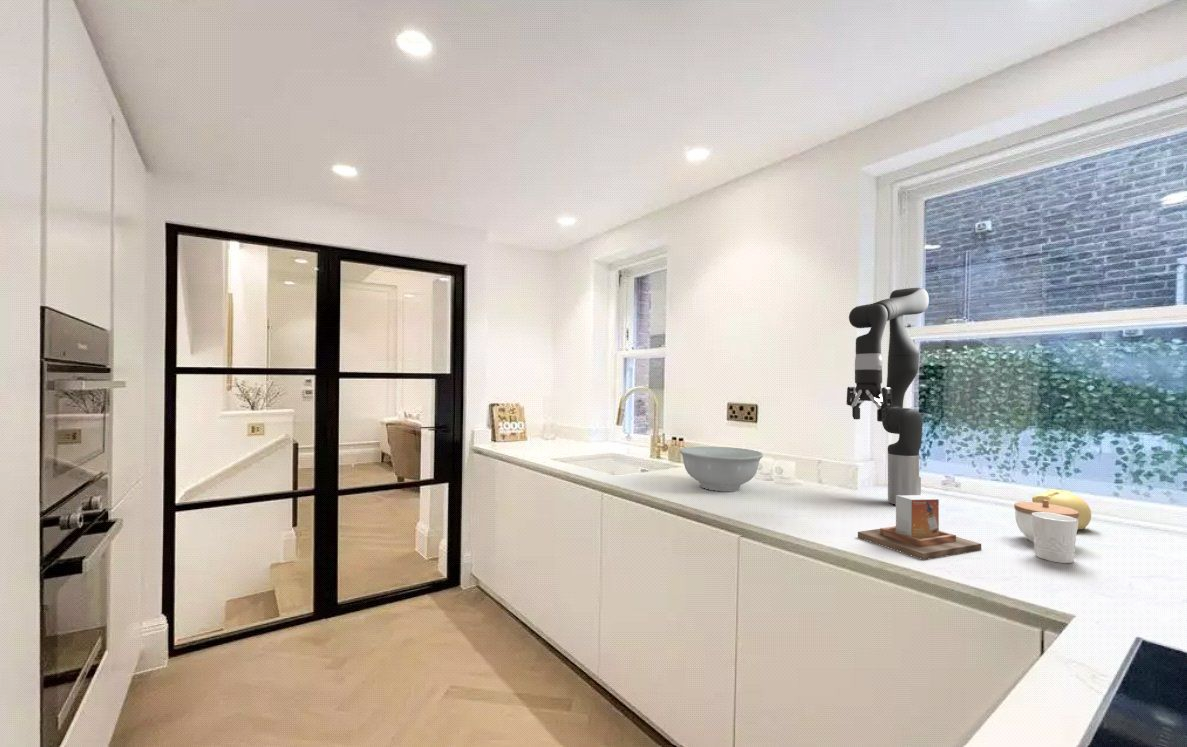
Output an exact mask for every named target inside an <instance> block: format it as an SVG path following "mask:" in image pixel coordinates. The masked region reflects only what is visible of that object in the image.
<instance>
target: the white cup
mask: <svg viewBox="0 0 1187 747" xmlns="http://www.w3.org/2000/svg"><path fill="white" fill-rule="evenodd" d="M1032 525H1033V537H1034V542H1033V544H1034V554H1035V556H1036V558H1037V557H1038V558H1040V559H1042V560H1046V561H1049V562H1054V563H1055V562H1056V563H1061V564H1062V563H1063V564H1072V563H1074V562H1075V551H1076V542H1077V533H1076V525H1077V519H1075V518H1073V517H1069V516H1065V515H1060V514H1054V513H1045V512H1034V513H1032Z"/></svg>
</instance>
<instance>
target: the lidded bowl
mask: <svg viewBox="0 0 1187 747" xmlns="http://www.w3.org/2000/svg"><path fill="white" fill-rule="evenodd" d="M1013 507H1014V509H1015V510H1014V514H1015V515H1014V516H1015V522H1016V524H1017V525H1016V526H1017V528H1018V529H1019V531H1020V532H1021V533H1022V535H1024V536H1025V537H1026V538H1027V541H1029V542H1031V543H1034V537H1033V525H1032V513H1034V512H1045V513H1054V514H1060V515H1065V516H1069V517H1073V518H1075V519H1077V525H1076V534H1077V532H1078V530H1079V529H1078V522H1079V521H1078V517H1079V512H1078V511H1077V510H1074V509H1071V508H1068V507H1063V506H1058V505H1052V504H1049V501H1048V500H1043V503H1036V502H1033V501H1020V502H1015V503H1014V506H1013Z"/></svg>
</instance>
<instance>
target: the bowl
mask: <svg viewBox="0 0 1187 747" xmlns="http://www.w3.org/2000/svg"><path fill="white" fill-rule="evenodd" d="M678 452H679V453H680V454H681V455H682V459H683V465H684V469H685V471H686V473H687V474H688V475H689V476H690V477H691V478H692V479H694V480H695V481H697V482H698V483H699V486H700V488H702V489H704V488H705V489H704V490H707V489H709V490H708V491H713V490H715V491H714V492H736V491H735V490H737V491H740V489H741V486H742V485H743V484H746V483H748V482H750V481H751V480H752V479H753V478H755V476H756V474H757V471H758V469H759V464H760V460H761V459H762V458H763V456H764V454H763V453H762V452H761V451H759V450H754V449H748V448H742V447H741V448H740V447H728V446H687V447H682V448H679V451H678Z"/></svg>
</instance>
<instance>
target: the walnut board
mask: <svg viewBox="0 0 1187 747" xmlns="http://www.w3.org/2000/svg"><path fill="white" fill-rule="evenodd" d="M858 537H859V538H858ZM857 538H858V539H861V538H862V539H861V540H864V539H865V541H867V540H868V541H867V542H870V541H871V542H870V543H874V544H876V543H877V544H876V545H879V544H880V545H879V546H881V545H883V546H882V547H884V546H886V547H885V548H887V547H889V548H888V549H890V548H892V549H891V550H893V549H895V550H894V551H896V550H898V551H897V552H899V551H901V552H900V553H902V552H903V553H902V554H905V553H906V554H905V555H908V554H909V555H908V556H911V555H912V556H911V557H913V556H915V557H914V558H916V557H918V558H917V559H919V558H921V559H920V560H922V559H926V560H929V559H928V558H932V559H936V557H937V558H941V556H943V557H947V556H946V555H949V556H954V555H959V554H958V553H960V554H965V553H964V552H966V553H970V551H971V552H975V551H976V550H977V551H981V550H982V543H979V542H976V541H972V540H969V539H967V538H962V537H959V536H957V535H956V534H953V533H949V532H946V531H942V530H939V536H937V537H930V538H924V539H917V538H914V537H911V536H907V535H904V534H901V533H898V532H896V525H894V526H888V527H880V528H876V529H870V530H867V529H866V530H861V531H860V530H859V531H857ZM953 554H954V555H953Z"/></svg>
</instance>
